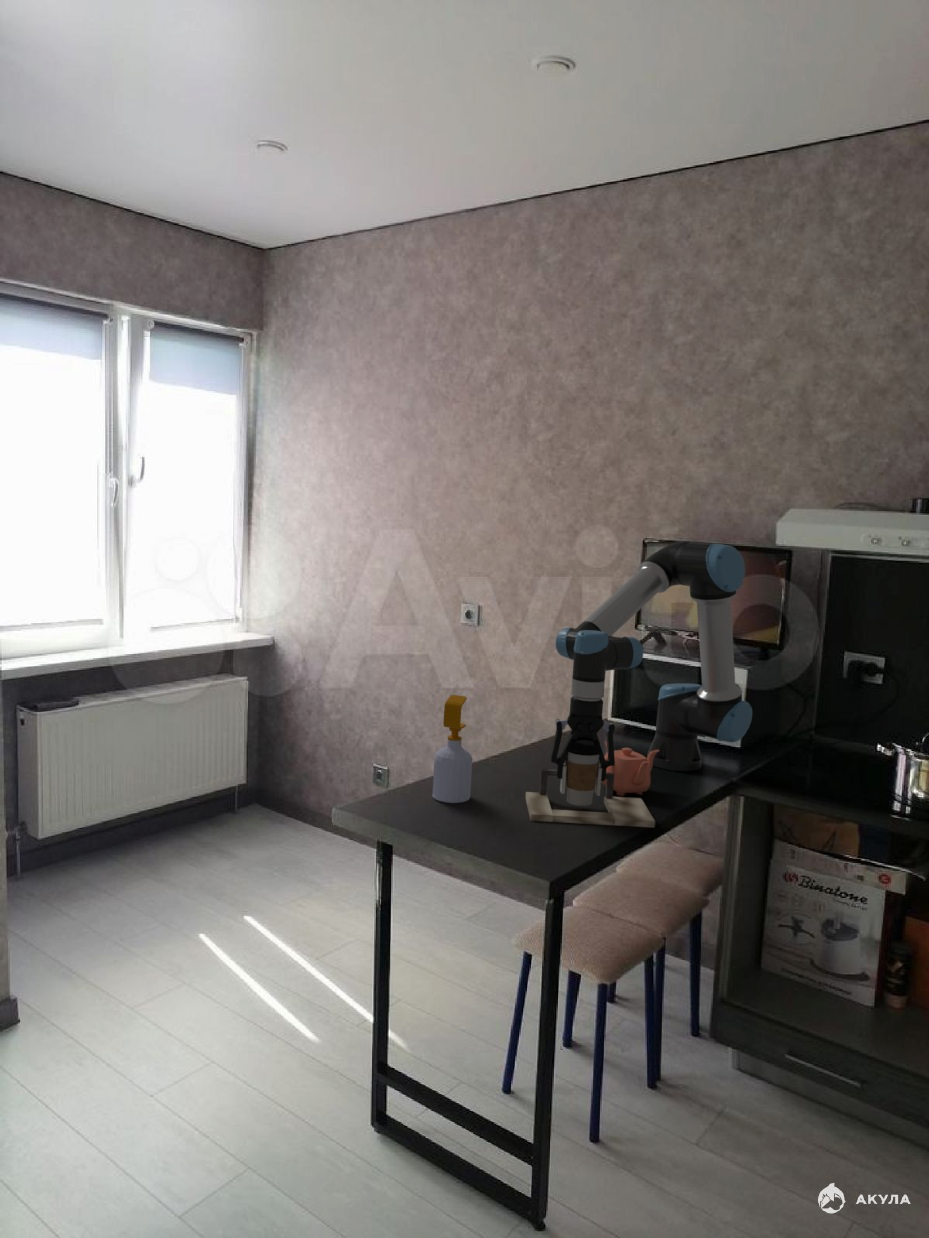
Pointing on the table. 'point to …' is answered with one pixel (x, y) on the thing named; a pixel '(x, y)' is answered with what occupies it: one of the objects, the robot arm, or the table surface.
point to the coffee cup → (581, 770)
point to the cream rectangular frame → (618, 808)
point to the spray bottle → (452, 759)
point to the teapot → (630, 771)
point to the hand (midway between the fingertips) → (579, 792)
